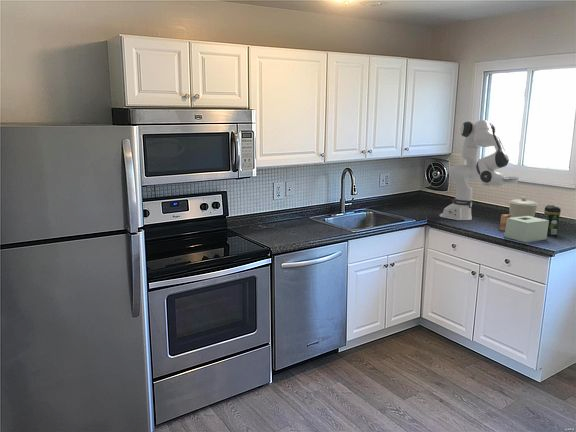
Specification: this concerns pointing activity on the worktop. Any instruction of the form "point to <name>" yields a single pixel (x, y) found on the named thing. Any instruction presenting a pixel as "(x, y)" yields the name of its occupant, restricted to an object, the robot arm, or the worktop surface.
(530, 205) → the canister
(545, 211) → the coffee jar
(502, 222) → the block
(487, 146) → the robot arm
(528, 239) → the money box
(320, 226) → the worktop surface
